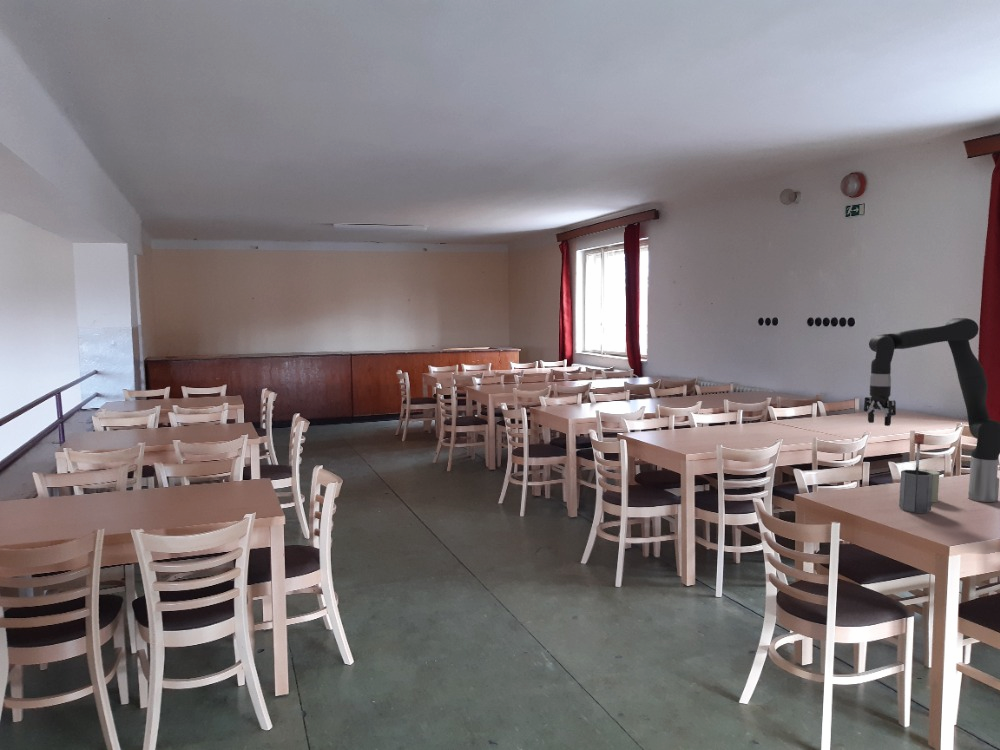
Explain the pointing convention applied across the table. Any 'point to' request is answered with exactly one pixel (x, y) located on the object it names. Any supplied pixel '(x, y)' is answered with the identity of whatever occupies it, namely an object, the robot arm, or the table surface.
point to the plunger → (918, 448)
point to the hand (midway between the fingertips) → (879, 424)
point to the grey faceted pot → (916, 491)
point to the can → (934, 484)
